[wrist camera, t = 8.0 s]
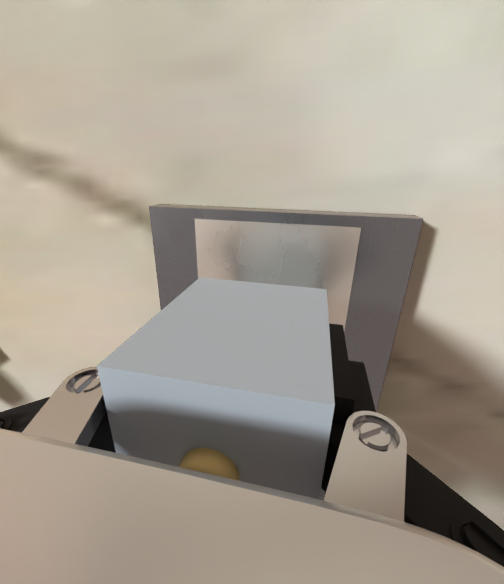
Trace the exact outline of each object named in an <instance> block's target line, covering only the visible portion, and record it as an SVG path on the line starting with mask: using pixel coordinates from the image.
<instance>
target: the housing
mask: <svg viewBox="0 0 504 584" xmlns="http://www.w3.org/2000/svg"><path fill="white" fill-rule="evenodd" d="M97 369H98V374H99V378H100V383H101V387H102V392H103V396H104V401H105V406H106V410H107V415H108V419H109V424H110V428H111V433H112V437H113V442H114V446H115V451H116V453H119V454H123V455H128V456H132V457H137V458H141V459H146V460H150V461H154V462H159V463H163V464H168V465H172V466H177V467H181V468H185V469H190V470H194V471H199V472H203V473H207V474H212V475H216V476H221V477H225V478H229V479H234V480H238V481H242V482H246V483H251V484H255V485H259V486H264V487H268V488H272V489H277V490H281V491H285V492H290V493H294V494H298V495H302V496H307V497H311V498H315V499H319V498H320V492H321V486H322V480H323V474H324V468H325V462H326V456H327V450H328V444H329V438H330V432H331V426H332V419H333V413H334V407H335V400H334V386H333V372H332V358H331V344H330V330H329V315H328V301H327V289H319V288H309V287H298V286H287V285H277V284H266V283H255V282H245V281H234V280H223V279H213V278H202V277H200V278H199V279H197V280H196V281H195V282H194V283H193V284H192V285H190V286H189V287H188V288H187V289H186V290H185V291H183V292H182V293H181V294H180V295H179V296H178V297H176V298H175V299H174V300H173V301H172V302H171V303H169V304H168V305H167V306H166V307H165V308H164V309H162V310H161V311H160V312H159V313H158V314H157V315H155V316H154V317H153V318H152V319H151V320H150V321H148V322H147V323H146V324H145V325H144V326H143V327H142V328H140V329H139V330H138V331H137V332H136V333H135V334H133V335H132V336H131V337H130V338H129V339H128V340H126V341H125V342H124V343H123V344H122V345H121V346H119V347H118V348H117V349H116V350H115V351H114V352H112V353H111V354H110V355H109V356H108V357H107V358H105V359H104V360H103V361H102V362H101V363H100V364H98V365H97Z"/></svg>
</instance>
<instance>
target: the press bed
mask: <svg viewBox="0 0 504 584" xmlns="http://www.w3.org/2000/svg"><path fill="white" fill-rule="evenodd" d="M149 210H150V219H151V227H152V236H153V245H154V254H155V262H156V271H157V280H158V289H159V297H160V306H161V310H162V309H164V308H165V307H166V306H167V305H168V304H169V303H171V302H172V301H173V300H174V299H175V298H176V297H178V296H179V295H180V294H181V293H182V292H183V291H185V290H186V289H187V288H188V287H189V286H190V285H192V284H193V283H194V282H195V281H196V280H197V279H199V278H200V277H202V278H213V279H223V280H234V281H245V282H255V283H266V284H277V285H287V286H298V287H309V288H319V289H327V301H328V315H329V323H331V324H339V325H343V328H344V335H345V341H346V347H347V353H348V360H350V361H357V362H363V363H364V365H365V369H366V373H367V377H368V381H369V385H370V389H371V394H372V398H373V402H374V406H375V410H376V412H377V408H378V404H379V400H380V395H381V391H382V387H383V383H384V379H385V375H386V371H387V366H388V362H389V358H390V354H391V350H392V346H393V342H394V338H395V333H396V329H397V325H398V321H399V317H400V313H401V309H402V305H403V300H404V296H405V292H406V288H407V284H408V280H409V276H410V271H411V267H412V263H413V259H414V255H415V251H416V247H417V243H418V238H419V234H420V230H421V226H422V222H423V219H422V218H420V217H418V216H415V215H398V214H375V213H353V212H330V211H307V210H284V209H262V208H239V207H216V206H193V205H170V204H158V205H153V206H149ZM325 494H326V493H325V492H324V490H323V489H321V492H320V498H319V500H323V501H324V497H325Z"/></svg>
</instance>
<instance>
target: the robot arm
mask: <svg viewBox="0 0 504 584" xmlns="http://www.w3.org/2000/svg"><path fill="white" fill-rule="evenodd" d="M329 330H330V344H331V358H332V372H333V386H334V400H335V407H334V413H333V419H332V426H331V432H330V438H329V444H328V450H327V456H326V462H325V468H324V474H323V480H322V486H321V489H323V490H324V492H325V493H326V494H325V497H324V501H323V500H319V499H315V498H311V497H307V496H302V495H298V494H294V493H290V492H285V491H281V490H277V489H272V488H268V487H264V486H259V485H255V484H251V483H246V482H242V481H238V480H234V479H229V478H225V477H221V476H216V475H212V474H207V473H203V472H199V471H194V470H190V469H185V468H181V467H177V466H172V465H168V464H163V463H159V462H154V461H150V460H146V459H141V458H137V457H132V456H128V455H123V454H119V453H116V451H115V446H114V442H113V437H112V433H111V428H110V424H109V419H108V415H107V410H106V406H105V401H104V396H103V392H102V387H101V383H100V378H99V374H98V369H97V367H89V368H85V369H82V370H80V371H77V372H75V373H73V374H72V375H70V376H68V377H67V378H66V379H65V380H64V381H63V382H62V383H61V385H60V386H59V387H58V388H57V390H56V391H55V392H54V393H53V395H52V396H51V397H48V398H45V399H41V400H38V401H35V402H32V403H29V404H25V405H22V406H19V407H16V408H13V409H9V410H6V411H3V412H0V584H504V531H503V530H502V529H501V528H500V527H499V526H498V525H496V524H495V523H494V522H492V521H491V520H490V519H489V518H487V517H486V516H485V515H484V514H482V513H481V512H480V511H479V510H477V509H476V508H475V507H474V506H472V505H471V504H470V503H469V502H467V501H466V500H465V499H463V498H462V497H461V496H460V495H458V494H457V493H456V492H455V491H453V490H452V489H451V488H450V487H448V486H447V485H446V484H445V483H443V482H442V481H441V480H440V479H438V478H437V477H436V476H435V475H433V474H432V473H431V472H429V471H428V470H427V469H426V468H424V467H423V466H422V465H421V464H419V463H418V462H417V461H416V460H414V459H413V458H412V457H411V456H409V455H408V454H407V441H406V436H405V434H404V433H403V431H402V429H401V428H400V427H399V426H398V425H397V424H396V423H395V422H394V421H392V420H391V419H389V418H388V417H386V416H384V415H382V414H380V413H376V410H375V406H374V402H373V398H372V394H371V389H370V385H369V381H368V377H367V373H366V369H365V365H364V363H363V362H357V361H350V360H348V353H347V347H346V341H345V335H344V328H343V325H339V324H331V323H329Z"/></svg>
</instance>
